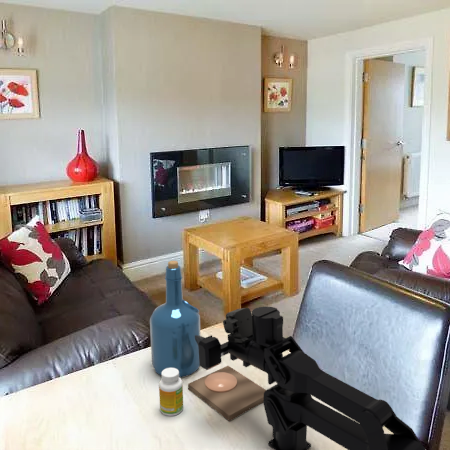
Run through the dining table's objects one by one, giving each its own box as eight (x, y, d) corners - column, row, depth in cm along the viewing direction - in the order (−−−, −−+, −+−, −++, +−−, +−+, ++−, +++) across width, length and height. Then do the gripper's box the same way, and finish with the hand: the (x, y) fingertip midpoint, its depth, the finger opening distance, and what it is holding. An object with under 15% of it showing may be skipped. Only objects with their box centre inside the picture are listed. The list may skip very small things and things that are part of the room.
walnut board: (270, 398, 111) (270, 392, 111) (229, 421, 103) (229, 415, 103) (228, 370, 123) (228, 365, 123) (188, 389, 115) (188, 383, 115)
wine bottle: (169, 386, 116) (164, 274, 109) (143, 364, 126) (137, 260, 119) (212, 367, 125) (210, 262, 117) (184, 348, 135) (181, 250, 127)
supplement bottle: (179, 418, 105) (178, 380, 102) (156, 415, 106) (155, 377, 103) (186, 403, 110) (184, 367, 107) (164, 400, 111) (162, 364, 108)
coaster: (243, 383, 115) (243, 382, 115) (218, 396, 110) (218, 394, 110) (223, 370, 121) (223, 368, 120) (198, 381, 116) (198, 380, 116)
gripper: (285, 305, 103) (238, 288, 114) (222, 331, 91) (176, 310, 102) (286, 351, 105) (239, 330, 117) (224, 382, 93) (179, 356, 105)
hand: (210, 331), depth 110 cm, fingers open, 9 cm apart
